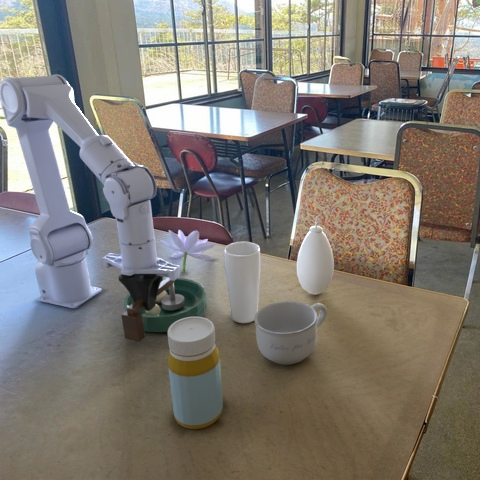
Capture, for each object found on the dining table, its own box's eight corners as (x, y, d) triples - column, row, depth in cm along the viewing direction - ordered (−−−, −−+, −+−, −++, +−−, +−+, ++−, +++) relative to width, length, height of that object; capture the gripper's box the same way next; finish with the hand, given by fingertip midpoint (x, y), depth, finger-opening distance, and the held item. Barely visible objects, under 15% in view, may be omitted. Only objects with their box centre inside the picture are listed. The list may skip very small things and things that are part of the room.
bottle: (179, 398, 74) (169, 315, 68) (225, 396, 74) (219, 314, 68) (170, 433, 67) (158, 344, 61) (220, 430, 68) (214, 343, 62)
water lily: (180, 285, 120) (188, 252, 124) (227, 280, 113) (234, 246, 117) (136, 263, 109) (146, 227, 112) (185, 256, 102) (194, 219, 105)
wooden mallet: (170, 297, 98) (167, 270, 96) (189, 301, 97) (186, 274, 95) (121, 337, 85) (116, 307, 83) (142, 342, 84) (138, 312, 81)
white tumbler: (255, 329, 91) (253, 258, 85) (222, 324, 93) (217, 253, 87) (266, 310, 98) (265, 243, 92) (234, 306, 99) (231, 239, 93)
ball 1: (143, 319, 92) (141, 306, 91) (151, 312, 94) (150, 299, 93) (155, 322, 91) (153, 309, 90) (164, 314, 94) (162, 302, 93)
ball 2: (152, 305, 97) (149, 292, 96) (160, 299, 99) (157, 287, 99) (163, 306, 96) (161, 293, 95) (171, 300, 99) (169, 287, 98)
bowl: (109, 326, 91) (106, 308, 89) (157, 289, 104) (155, 273, 103) (179, 342, 87) (177, 324, 85) (220, 301, 100) (219, 284, 99)
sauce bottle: (290, 297, 103) (291, 218, 96) (305, 281, 109) (306, 206, 102) (324, 305, 100) (327, 224, 93) (337, 288, 107) (341, 212, 100)
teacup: (269, 380, 78) (268, 339, 75) (246, 344, 87) (245, 306, 84) (343, 357, 84) (345, 318, 81) (315, 326, 93) (316, 289, 90)
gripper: (84, 241, 80) (97, 310, 86) (159, 254, 76) (168, 326, 82) (113, 226, 86) (123, 292, 92) (184, 238, 83) (190, 306, 88)
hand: (146, 307), depth 87 cm, fingers closed on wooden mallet
